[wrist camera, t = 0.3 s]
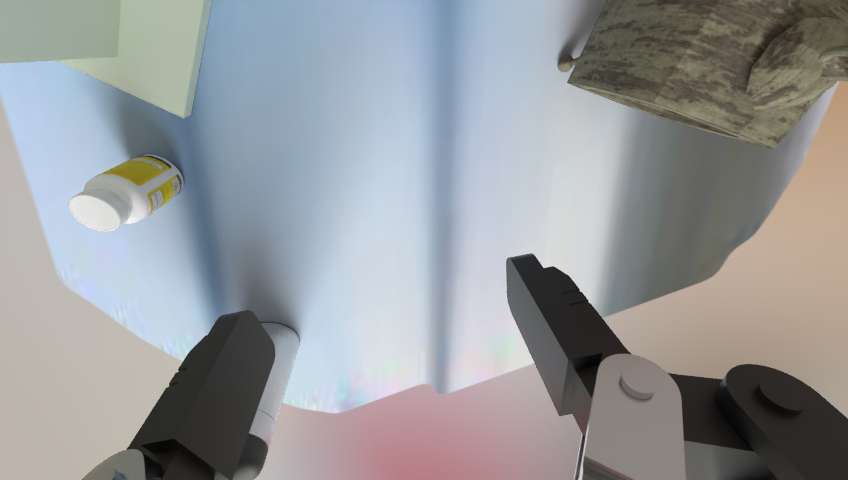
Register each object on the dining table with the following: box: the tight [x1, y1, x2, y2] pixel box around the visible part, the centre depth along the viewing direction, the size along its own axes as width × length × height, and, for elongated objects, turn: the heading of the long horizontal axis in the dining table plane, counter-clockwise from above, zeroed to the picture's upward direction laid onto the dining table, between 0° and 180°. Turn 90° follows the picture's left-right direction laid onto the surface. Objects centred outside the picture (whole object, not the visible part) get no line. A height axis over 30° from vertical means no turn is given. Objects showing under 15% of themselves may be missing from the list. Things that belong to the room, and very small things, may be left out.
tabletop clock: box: [558, 0, 848, 149], centre depth 24 cm, size 14×9×25 cm, turn 73°
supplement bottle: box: [69, 154, 184, 231], centre depth 33 cm, size 5×5×10 cm
